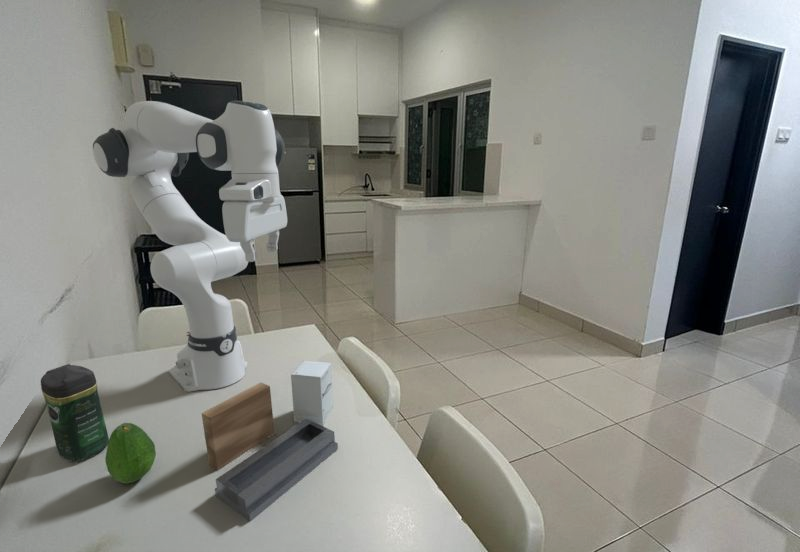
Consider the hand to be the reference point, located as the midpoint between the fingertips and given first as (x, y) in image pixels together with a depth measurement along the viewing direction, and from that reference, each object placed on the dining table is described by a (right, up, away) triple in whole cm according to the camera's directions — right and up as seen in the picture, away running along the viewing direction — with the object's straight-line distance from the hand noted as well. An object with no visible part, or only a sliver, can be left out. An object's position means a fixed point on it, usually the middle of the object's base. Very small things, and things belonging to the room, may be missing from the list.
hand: (262, 255), depth 86 cm
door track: (+5, -43, -4) cm, 43 cm away
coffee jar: (-39, -41, +2) cm, 57 cm away
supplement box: (+8, -38, +14) cm, 41 cm away
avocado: (-23, -44, -6) cm, 49 cm away
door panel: (-5, -41, +2) cm, 41 cm away
